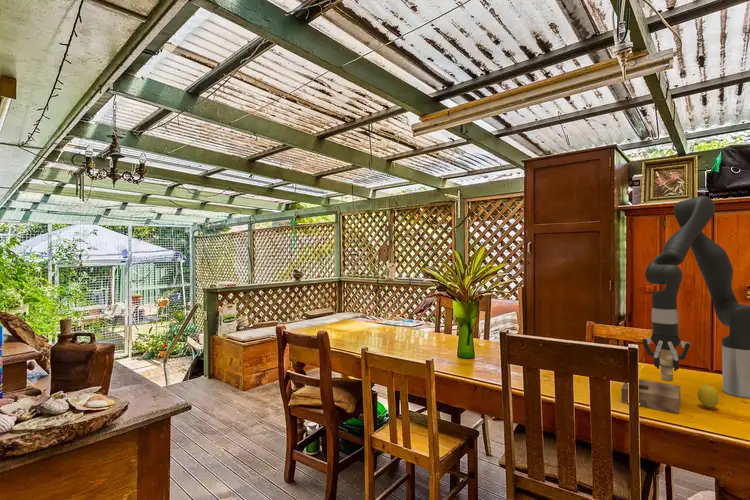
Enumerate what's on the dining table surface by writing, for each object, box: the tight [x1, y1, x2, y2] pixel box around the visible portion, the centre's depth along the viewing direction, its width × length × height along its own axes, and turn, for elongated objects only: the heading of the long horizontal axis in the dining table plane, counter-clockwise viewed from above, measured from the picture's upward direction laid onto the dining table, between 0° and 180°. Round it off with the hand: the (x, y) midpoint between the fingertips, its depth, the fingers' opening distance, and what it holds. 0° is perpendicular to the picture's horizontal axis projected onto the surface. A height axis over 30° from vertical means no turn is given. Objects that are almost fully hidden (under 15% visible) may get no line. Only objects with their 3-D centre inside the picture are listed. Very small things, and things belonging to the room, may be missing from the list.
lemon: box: [697, 383, 720, 409], centre depth 131 cm, size 6×6×8 cm
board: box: [620, 378, 682, 415], centre depth 138 cm, size 16×15×5 cm
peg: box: [658, 349, 674, 382], centre depth 136 cm, size 4×4×11 cm
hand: (666, 369), depth 136 cm, fingers closed on peg, 4 cm apart
